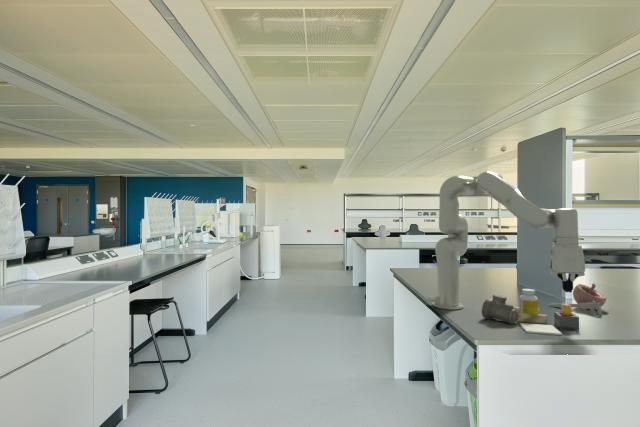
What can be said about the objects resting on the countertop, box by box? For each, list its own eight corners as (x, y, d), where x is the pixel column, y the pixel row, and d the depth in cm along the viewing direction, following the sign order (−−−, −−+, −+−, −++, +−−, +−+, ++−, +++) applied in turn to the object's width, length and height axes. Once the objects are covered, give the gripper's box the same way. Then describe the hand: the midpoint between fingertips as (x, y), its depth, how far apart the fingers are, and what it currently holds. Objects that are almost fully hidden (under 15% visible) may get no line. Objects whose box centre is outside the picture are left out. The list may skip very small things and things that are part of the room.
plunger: (563, 319, 133) (563, 305, 133) (560, 317, 136) (560, 303, 136) (572, 319, 132) (572, 306, 132) (569, 317, 135) (569, 304, 135)
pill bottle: (540, 321, 143) (540, 291, 143) (522, 320, 144) (522, 291, 144) (534, 316, 149) (534, 288, 149) (517, 316, 151) (517, 288, 151)
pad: (526, 332, 129) (526, 330, 129) (519, 324, 139) (519, 322, 139) (562, 335, 126) (562, 333, 126) (552, 326, 136) (552, 325, 136)
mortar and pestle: (602, 313, 154) (602, 286, 154) (569, 308, 163) (569, 282, 163) (609, 309, 162) (609, 283, 162) (577, 304, 171) (577, 279, 171)
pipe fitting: (478, 318, 146) (482, 293, 146) (489, 316, 151) (493, 292, 150) (508, 329, 136) (512, 302, 136) (519, 326, 141) (523, 301, 141)
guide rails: (518, 321, 143) (518, 313, 143) (512, 314, 153) (512, 307, 153) (547, 323, 140) (547, 315, 140) (538, 316, 151) (538, 308, 151)
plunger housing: (559, 329, 132) (559, 315, 132) (554, 325, 138) (554, 311, 138) (579, 331, 131) (579, 317, 131) (572, 326, 136) (572, 312, 136)
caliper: (601, 316, 151) (601, 300, 151) (600, 316, 151) (600, 301, 151) (548, 305, 169) (548, 292, 169) (547, 306, 168) (546, 292, 168)
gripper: (546, 242, 133) (548, 292, 133) (594, 242, 129) (596, 294, 128) (540, 241, 140) (541, 289, 140) (585, 241, 136) (587, 290, 135)
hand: (567, 291), depth 134 cm, fingers closed
